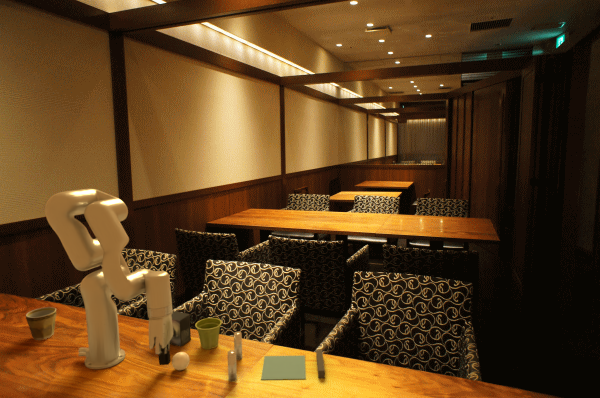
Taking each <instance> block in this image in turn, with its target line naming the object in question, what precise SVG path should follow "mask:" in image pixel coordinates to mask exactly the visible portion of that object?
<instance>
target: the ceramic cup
mask: <svg viewBox="0 0 600 398" xmlns="http://www.w3.org/2000/svg"><path fill="white" fill-rule="evenodd" d="M25 319H26V321H27V322H26V323H27V325H28V327H29V331H30V333H31V337H32V339H33V340H35V341H37V340H38V341H45V340H48V339H50V337H51V336H52V335H53V336H54V334H55V326H56V319H57V308H55V307H54V306H53V307H51V306H47V307H41V308H40V307H39V308H36V309H33V310H31V311H28V312H27V313H26V314H25ZM53 336H52V337H53ZM52 337H51V338H52ZM47 338H48V339H47ZM44 339H45V340H44Z"/></svg>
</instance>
